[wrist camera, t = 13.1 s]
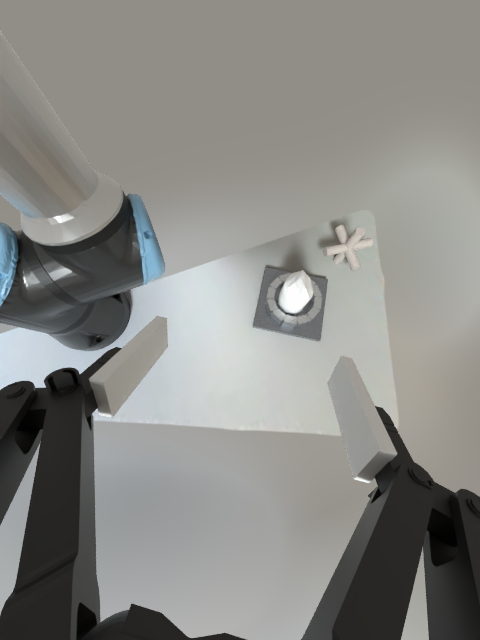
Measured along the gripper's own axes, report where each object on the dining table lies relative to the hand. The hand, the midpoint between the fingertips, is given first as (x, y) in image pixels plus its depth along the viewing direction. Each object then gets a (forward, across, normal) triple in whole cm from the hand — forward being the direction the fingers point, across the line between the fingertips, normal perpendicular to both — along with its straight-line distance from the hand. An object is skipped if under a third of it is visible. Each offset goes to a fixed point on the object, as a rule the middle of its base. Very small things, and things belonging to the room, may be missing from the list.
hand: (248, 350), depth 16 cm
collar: (+31, +7, -8) cm, 33 cm away
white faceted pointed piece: (+30, +7, -8) cm, 32 cm away
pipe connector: (+40, +16, +1) cm, 43 cm away
